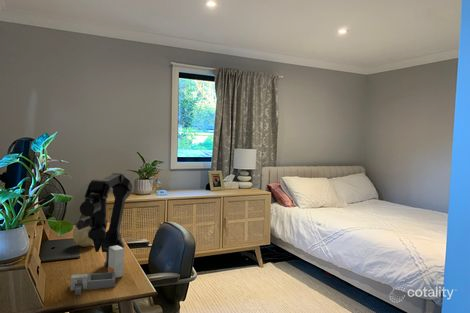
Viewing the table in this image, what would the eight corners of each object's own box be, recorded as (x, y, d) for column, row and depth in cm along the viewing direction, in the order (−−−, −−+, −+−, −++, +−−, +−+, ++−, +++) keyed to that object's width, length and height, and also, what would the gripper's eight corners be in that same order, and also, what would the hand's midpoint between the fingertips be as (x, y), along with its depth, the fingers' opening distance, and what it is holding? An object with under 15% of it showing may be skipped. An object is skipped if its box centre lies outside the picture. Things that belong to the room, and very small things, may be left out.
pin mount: (71, 284, 134) (72, 273, 134) (87, 282, 136) (88, 272, 136) (70, 290, 129) (70, 279, 128) (87, 289, 131) (87, 278, 130)
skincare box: (107, 274, 146) (108, 246, 145) (117, 271, 149) (118, 244, 148) (113, 278, 141) (115, 250, 141) (123, 276, 144) (124, 248, 144)
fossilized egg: (103, 244, 186) (104, 217, 185) (87, 251, 173) (88, 221, 173) (83, 241, 189) (84, 214, 188) (66, 247, 177) (67, 219, 176)
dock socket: (88, 281, 138) (88, 273, 138) (114, 278, 141) (114, 271, 141) (87, 289, 130) (87, 281, 130) (114, 286, 134) (115, 279, 134)
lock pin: (77, 282, 135) (77, 275, 135) (82, 282, 136) (83, 275, 136) (74, 295, 125) (75, 287, 125) (80, 294, 126) (81, 286, 126)
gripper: (79, 206, 146) (78, 242, 147) (74, 216, 128) (73, 257, 129) (107, 205, 149) (106, 240, 150) (105, 215, 132) (104, 255, 132)
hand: (97, 248), depth 140 cm, fingers open, 9 cm apart
